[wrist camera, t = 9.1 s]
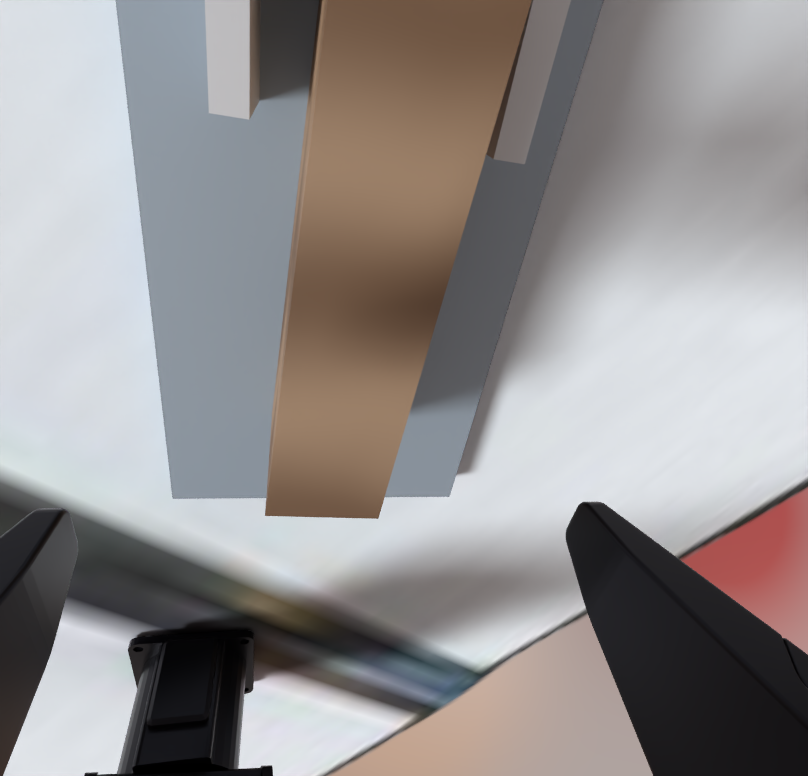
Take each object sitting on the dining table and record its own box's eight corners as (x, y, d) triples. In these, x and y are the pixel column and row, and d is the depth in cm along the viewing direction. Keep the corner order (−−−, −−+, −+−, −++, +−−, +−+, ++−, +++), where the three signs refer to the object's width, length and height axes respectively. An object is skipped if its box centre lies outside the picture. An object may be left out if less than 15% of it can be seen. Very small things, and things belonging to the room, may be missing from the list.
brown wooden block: (362, 421, 20) (378, 518, 16) (272, 414, 19) (265, 515, 15) (464, -13, 13) (541, -33, 9) (325, -59, 12) (340, -104, 8)
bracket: (444, 481, 24) (469, 559, 21) (177, 481, 22) (153, 571, 18) (603, -57, 14) (715, -89, 10) (106, -199, 11) (7, -317, 7)
